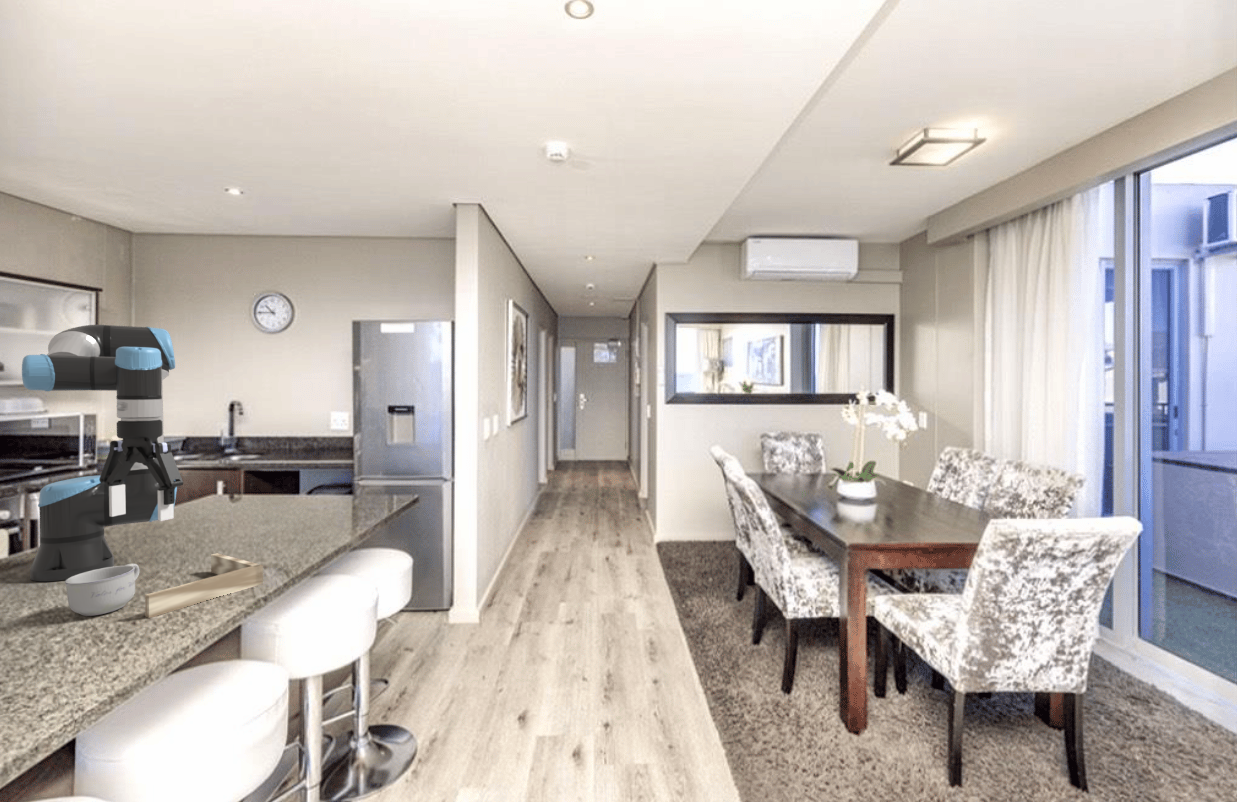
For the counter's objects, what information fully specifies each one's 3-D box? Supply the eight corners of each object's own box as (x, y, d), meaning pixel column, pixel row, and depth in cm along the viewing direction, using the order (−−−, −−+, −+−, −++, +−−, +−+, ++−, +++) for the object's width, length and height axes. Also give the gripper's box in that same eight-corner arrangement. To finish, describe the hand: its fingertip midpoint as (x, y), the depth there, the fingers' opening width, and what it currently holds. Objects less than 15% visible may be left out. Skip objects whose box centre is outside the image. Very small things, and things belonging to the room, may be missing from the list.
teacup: (93, 623, 112) (93, 583, 112) (51, 618, 114) (50, 579, 114) (163, 597, 125) (162, 561, 125) (124, 593, 128) (123, 558, 127)
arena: (104, 600, 124) (104, 579, 123) (217, 570, 143) (217, 553, 143) (149, 618, 114) (148, 596, 114) (262, 583, 134) (262, 565, 134)
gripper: (76, 418, 121) (78, 517, 121) (167, 422, 115) (168, 525, 115) (115, 416, 128) (117, 509, 129) (202, 419, 122) (203, 517, 123)
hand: (141, 517), depth 122 cm, fingers open, 13 cm apart
